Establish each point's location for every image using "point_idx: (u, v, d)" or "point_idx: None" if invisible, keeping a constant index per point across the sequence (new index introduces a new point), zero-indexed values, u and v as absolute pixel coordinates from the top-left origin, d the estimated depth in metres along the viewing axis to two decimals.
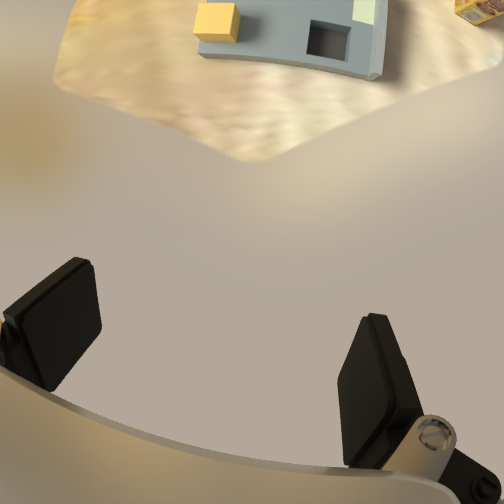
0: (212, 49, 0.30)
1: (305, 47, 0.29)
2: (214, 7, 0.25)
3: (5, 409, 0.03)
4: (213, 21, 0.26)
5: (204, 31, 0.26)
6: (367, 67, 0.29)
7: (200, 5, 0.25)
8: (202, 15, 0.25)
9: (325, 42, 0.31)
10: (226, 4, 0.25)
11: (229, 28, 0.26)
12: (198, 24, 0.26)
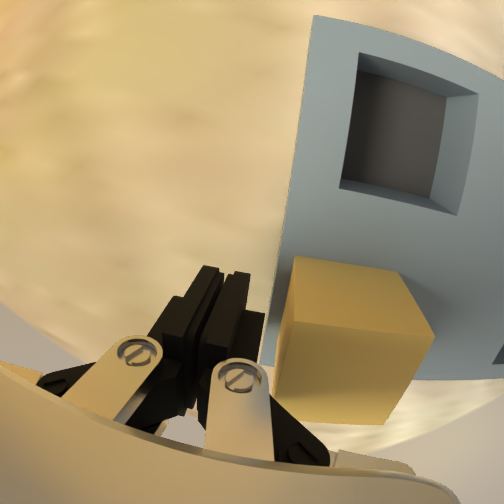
0: None
1: (496, 352, 0.12)
2: (358, 349, 0.07)
3: (5, 409, 0.03)
4: (345, 394, 0.08)
5: (309, 416, 0.09)
6: None
7: (301, 332, 0.07)
8: (306, 372, 0.08)
9: None
10: (405, 339, 0.07)
11: (388, 412, 0.08)
12: (288, 397, 0.08)
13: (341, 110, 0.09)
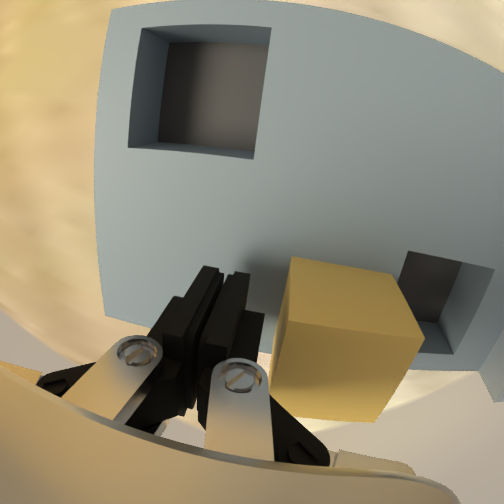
0: (135, 315, 0.14)
1: None
2: (350, 349, 0.08)
3: (5, 409, 0.03)
4: (337, 392, 0.09)
5: (303, 412, 0.09)
6: (484, 357, 0.12)
7: (295, 331, 0.08)
8: (300, 369, 0.08)
9: (415, 272, 0.14)
10: (396, 341, 0.08)
11: (379, 411, 0.09)
12: (283, 393, 0.09)
13: (125, 81, 0.09)
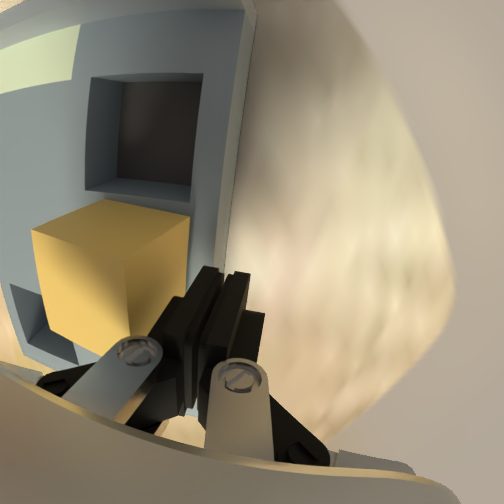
0: None
1: (168, 204, 0.11)
2: (51, 292, 0.09)
3: (5, 409, 0.03)
4: (88, 304, 0.08)
5: None
6: (215, 13, 0.08)
7: (54, 327, 0.09)
8: (77, 331, 0.09)
9: (154, 136, 0.13)
10: (38, 255, 0.08)
11: (104, 257, 0.07)
12: (104, 349, 0.09)
13: (50, 357, 0.16)
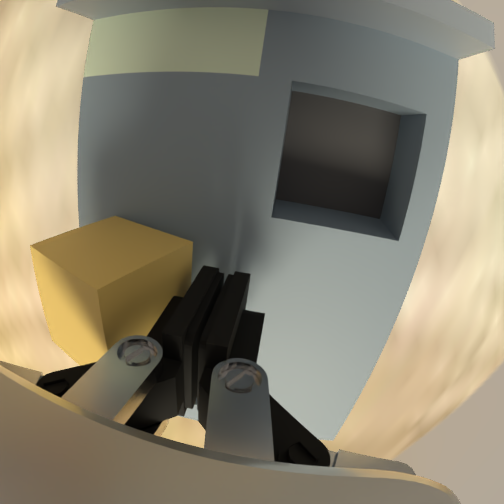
0: (334, 424, 0.15)
1: (377, 241, 0.11)
2: (49, 307, 0.09)
3: (5, 409, 0.03)
4: (76, 325, 0.08)
5: None
6: (435, 54, 0.08)
7: (55, 339, 0.10)
8: (71, 347, 0.09)
9: (329, 159, 0.12)
10: (37, 271, 0.08)
11: (82, 283, 0.07)
12: None
13: None
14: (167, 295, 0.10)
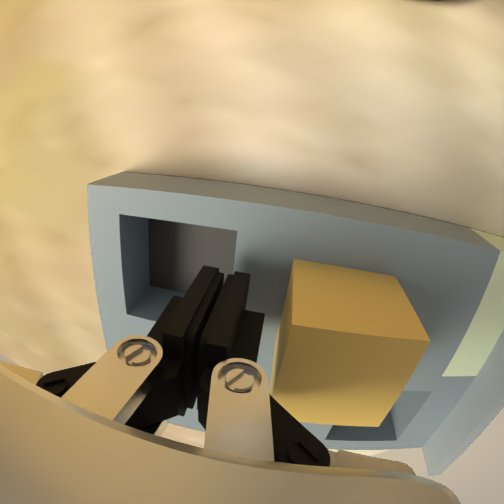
0: None
1: (326, 431, 0.15)
2: (355, 353, 0.08)
3: (5, 409, 0.03)
4: (342, 396, 0.08)
5: (306, 417, 0.09)
6: (426, 439, 0.15)
7: (298, 335, 0.08)
8: (303, 374, 0.08)
9: None
10: (401, 344, 0.07)
11: (383, 414, 0.09)
12: (286, 398, 0.09)
13: (115, 262, 0.12)
14: None
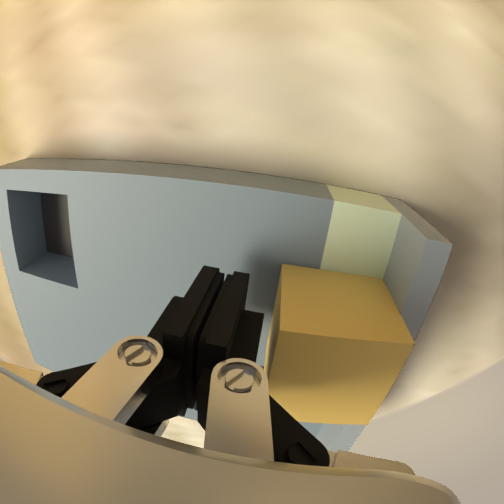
0: (50, 366, 0.17)
1: None
2: (341, 356, 0.08)
3: (5, 409, 0.03)
4: (330, 396, 0.09)
5: (297, 416, 0.09)
6: (316, 430, 0.16)
7: (286, 340, 0.08)
8: (292, 376, 0.09)
9: None
10: (386, 347, 0.08)
11: (371, 413, 0.09)
12: (276, 399, 0.09)
13: (7, 227, 0.13)
14: None
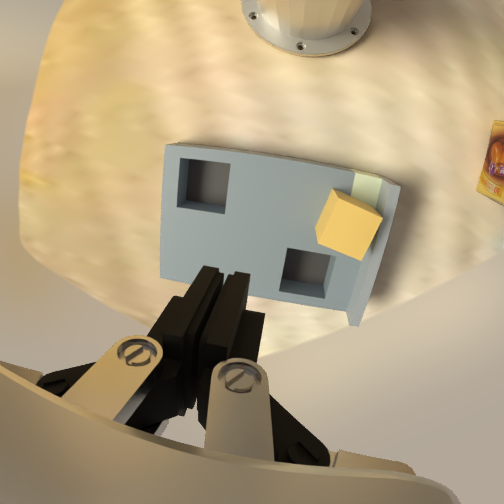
0: (175, 276, 0.32)
1: (278, 283, 0.31)
2: (356, 215, 0.23)
3: (5, 409, 0.03)
4: (349, 236, 0.24)
5: (333, 245, 0.24)
6: (347, 303, 0.31)
7: (339, 203, 0.23)
8: (337, 220, 0.24)
9: (304, 258, 0.32)
10: (372, 216, 0.23)
11: (363, 253, 0.24)
12: (328, 232, 0.24)
13: (174, 180, 0.28)
14: None
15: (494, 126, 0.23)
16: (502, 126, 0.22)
